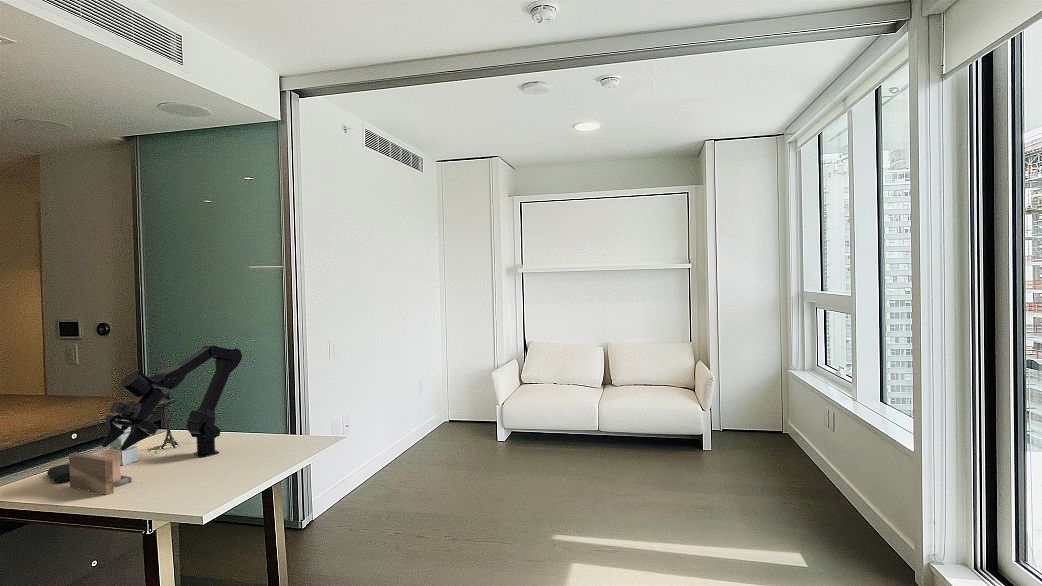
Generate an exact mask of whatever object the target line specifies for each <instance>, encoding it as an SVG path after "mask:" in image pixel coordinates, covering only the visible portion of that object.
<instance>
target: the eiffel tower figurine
mask: <svg viewBox="0 0 1042 586" xmlns="http://www.w3.org/2000/svg"><path fill="white" fill-rule="evenodd" d="M166 417H167V423H166V424H167V426H166V427H167V428H166V433H165V434H166V435H165V438H164V440H163V443H162V444H160V446H159V445H156V446H153V448H152V447H150V449H149V448H147V450H148V451H147V452H152V451H151V450H155V451H158V450H160V451H161V449H162V450H165V449H164V448H163V447H164V446H167V445H168V444H169V445H172V446H173V448H172V449H176V448H177V447H175V445H178V444H179V443H178V442H176V441H177V440H175V437H174V436H173V435H172V432H171V425H170V415H167V416H166ZM167 443H168V444H167ZM166 444H167V445H166ZM178 446H179V445H178ZM160 447H161V449H160Z"/></svg>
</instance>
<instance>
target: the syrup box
mask: <svg viewBox="0 0 1042 586" xmlns="http://www.w3.org/2000/svg"><path fill="white" fill-rule="evenodd" d="M130 432H131V427H128V428H127V429H126V430H124V433H123V434H122V435H121V436H119V437H118V438H117V439H116V440H114V441H113V442H112V443H111V444H109V449H110V450H115V451H120V466H126V465H129V464H133V463H135V462H138V460H139V457H138V442H137V443H135V444H134V445H132V446H130V447H129V448H127V449H125V450H124V451H122V450H121V449H120V448H121V446H122V444H123V443H124V441H125V440H126V438H127V437H128V435H129V434H130Z"/></svg>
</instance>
